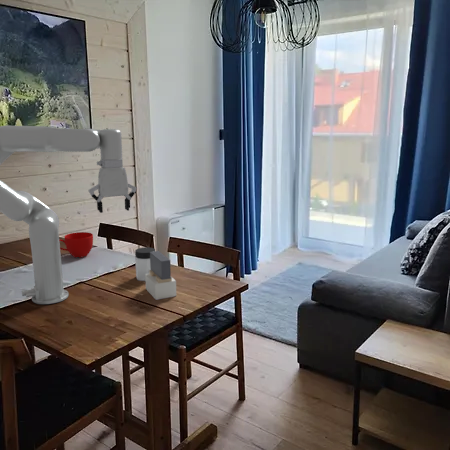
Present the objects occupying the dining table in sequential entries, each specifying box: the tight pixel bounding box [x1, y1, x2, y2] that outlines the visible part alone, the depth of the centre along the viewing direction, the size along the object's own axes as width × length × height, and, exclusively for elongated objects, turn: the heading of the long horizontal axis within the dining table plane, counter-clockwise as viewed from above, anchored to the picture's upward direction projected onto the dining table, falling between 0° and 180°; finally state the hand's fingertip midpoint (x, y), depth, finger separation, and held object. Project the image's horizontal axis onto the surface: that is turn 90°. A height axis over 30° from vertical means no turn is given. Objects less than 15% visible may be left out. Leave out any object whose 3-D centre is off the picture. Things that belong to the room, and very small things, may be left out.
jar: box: [134, 247, 156, 282], centre depth 184 cm, size 9×8×12 cm
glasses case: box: [150, 250, 172, 280], centre depth 167 cm, size 3×13×7 cm, turn 27°
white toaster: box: [145, 270, 177, 301], centre depth 169 cm, size 8×12×8 cm, turn 27°
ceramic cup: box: [59, 231, 94, 258], centre depth 213 cm, size 13×17×10 cm
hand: (114, 211), depth 164 cm, fingers open, 9 cm apart
